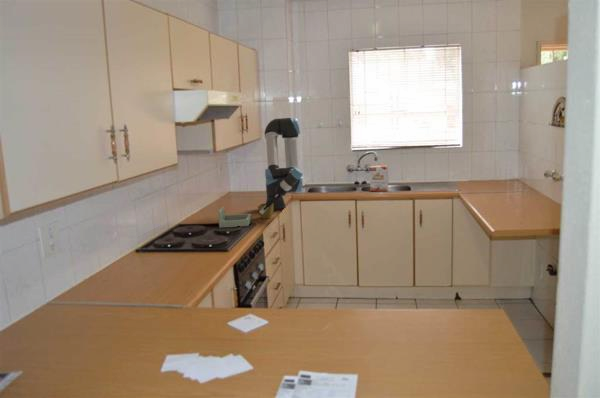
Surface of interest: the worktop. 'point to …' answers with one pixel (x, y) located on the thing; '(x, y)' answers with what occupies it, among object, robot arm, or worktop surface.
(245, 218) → the pale green open box
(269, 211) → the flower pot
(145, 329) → the worktop surface
